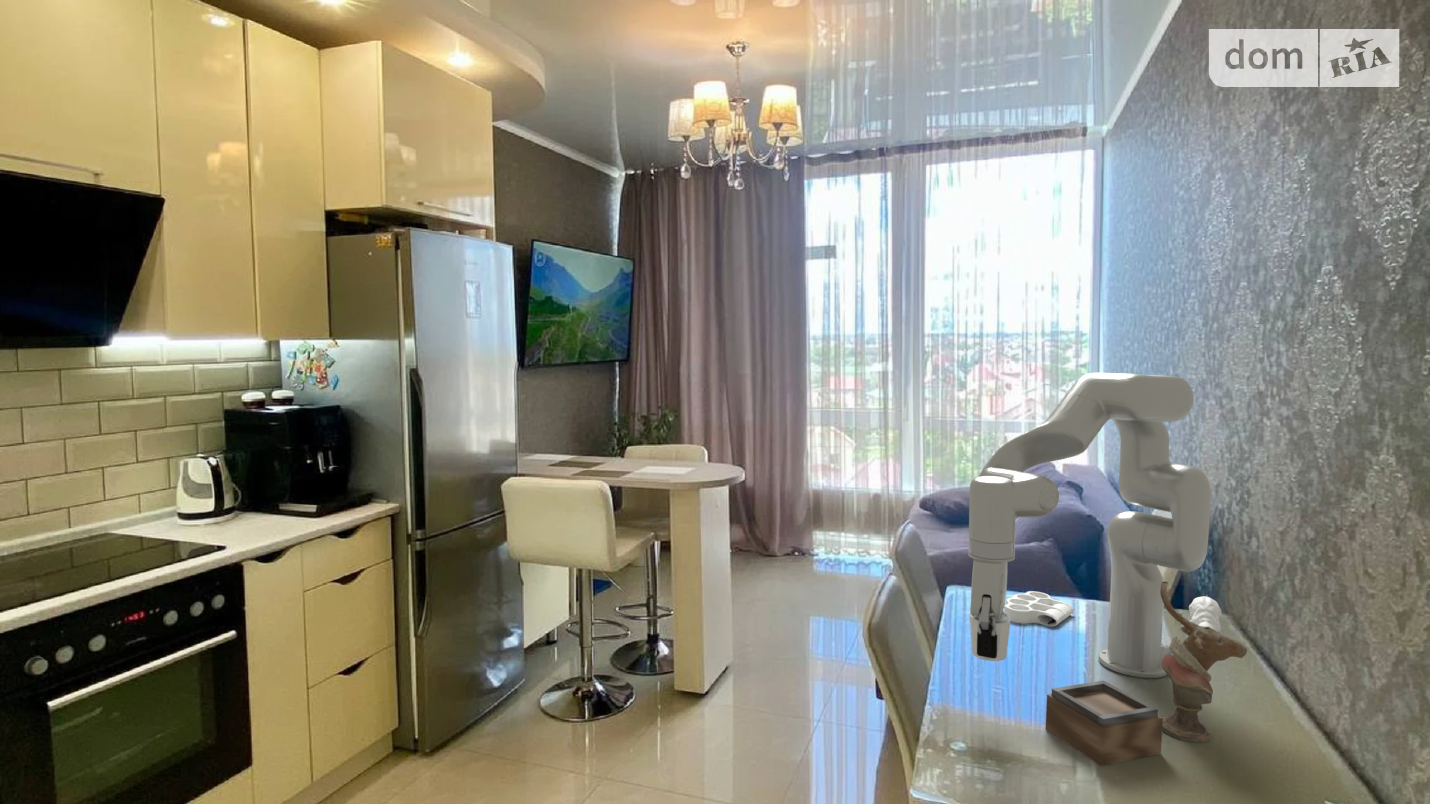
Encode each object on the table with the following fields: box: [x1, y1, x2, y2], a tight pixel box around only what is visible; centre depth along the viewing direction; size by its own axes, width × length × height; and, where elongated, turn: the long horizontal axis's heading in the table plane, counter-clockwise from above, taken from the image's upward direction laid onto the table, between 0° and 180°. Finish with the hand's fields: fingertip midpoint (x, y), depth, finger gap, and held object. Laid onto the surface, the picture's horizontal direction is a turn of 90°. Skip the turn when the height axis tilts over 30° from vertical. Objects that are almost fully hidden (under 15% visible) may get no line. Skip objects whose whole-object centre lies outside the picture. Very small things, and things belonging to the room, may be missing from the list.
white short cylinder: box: [969, 611, 1012, 662], centre depth 134 cm, size 7×7×7 cm
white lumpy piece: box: [1188, 595, 1222, 633], centre depth 171 cm, size 6×8×12 cm
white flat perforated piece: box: [1003, 590, 1075, 627], centre depth 186 cm, size 3×18×15 cm
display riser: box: [1045, 680, 1164, 767], centre depth 126 cm, size 12×12×7 cm
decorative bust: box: [1160, 581, 1248, 743], centre depth 129 cm, size 11×13×25 cm
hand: (989, 648), depth 134 cm, fingers closed on white short cylinder, 6 cm apart
